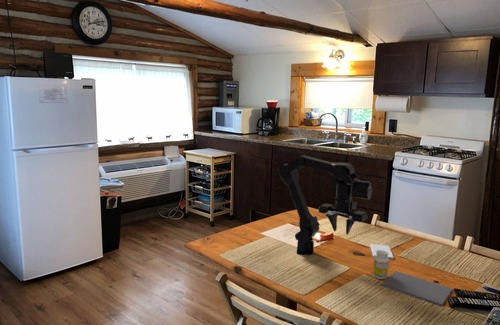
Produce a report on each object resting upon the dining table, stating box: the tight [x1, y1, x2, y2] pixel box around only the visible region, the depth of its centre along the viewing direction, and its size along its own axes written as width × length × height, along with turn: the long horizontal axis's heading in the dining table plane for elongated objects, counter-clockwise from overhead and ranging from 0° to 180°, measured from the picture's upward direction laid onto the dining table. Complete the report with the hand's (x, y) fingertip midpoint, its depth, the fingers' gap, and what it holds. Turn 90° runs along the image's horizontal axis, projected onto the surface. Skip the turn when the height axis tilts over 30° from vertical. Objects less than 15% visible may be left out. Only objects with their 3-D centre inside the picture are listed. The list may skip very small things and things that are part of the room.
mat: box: [380, 270, 453, 307], centre depth 137 cm, size 20×14×1 cm
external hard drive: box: [369, 243, 395, 260], centre depth 167 cm, size 2×8×12 cm
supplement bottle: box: [372, 250, 390, 280], centre depth 144 cm, size 5×5×10 cm
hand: (341, 232), depth 156 cm, fingers open, 5 cm apart
